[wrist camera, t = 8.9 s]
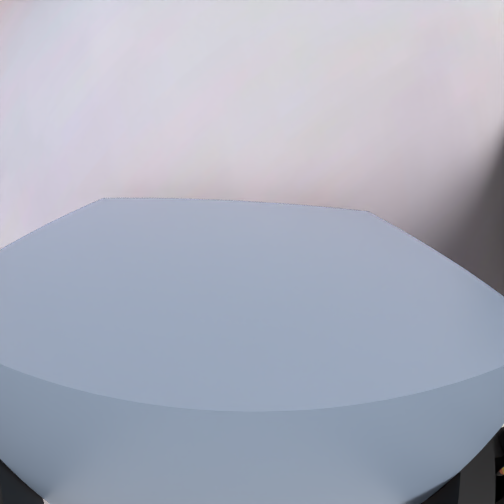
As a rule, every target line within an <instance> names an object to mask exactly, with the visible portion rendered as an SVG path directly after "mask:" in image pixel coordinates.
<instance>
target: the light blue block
mask: <svg viewBox="0 0 504 504" xmlns="http://www.w3.org/2000/svg"><path fill="white" fill-rule="evenodd" d="M503 424H504V296H502V295H501V294H500V293H498V292H497V291H496V290H494V289H493V288H491V287H490V286H489V285H487V284H486V283H484V282H483V281H482V280H480V279H479V278H477V277H476V276H474V275H473V274H471V273H470V272H469V271H467V270H466V269H464V268H463V267H461V266H460V265H458V264H457V263H455V262H453V261H452V260H450V259H449V258H447V257H446V256H444V255H443V254H441V253H439V252H438V251H436V250H435V249H433V248H431V247H430V246H428V245H426V244H425V243H423V242H421V241H420V240H418V239H416V238H415V237H413V236H411V235H410V234H408V233H406V232H404V231H403V230H401V229H399V228H397V227H396V226H394V225H392V224H390V223H389V222H387V221H385V220H383V219H381V218H380V217H378V216H376V215H374V214H372V213H370V212H368V211H361V210H351V209H341V208H331V207H320V206H308V205H296V204H282V203H268V202H251V201H233V200H210V199H179V198H102V199H100V200H98V201H95V202H93V203H91V204H89V205H86V206H84V207H82V208H80V209H78V210H75V211H73V212H71V213H69V214H67V215H65V216H63V217H61V218H59V219H57V220H55V221H52V222H50V223H48V224H46V225H45V226H43V227H41V228H39V229H37V230H35V231H33V232H31V233H29V234H27V235H25V236H24V237H22V238H20V239H18V240H16V241H15V242H13V243H11V244H9V245H7V246H6V247H4V248H2V249H1V250H0V459H1V460H2V461H3V462H4V463H5V464H6V465H7V466H8V467H9V468H10V469H11V470H12V471H13V472H14V473H15V474H16V475H17V476H18V477H19V478H20V479H21V480H22V481H23V482H25V483H26V484H27V485H28V486H29V487H30V488H31V489H33V490H34V491H35V492H36V493H37V494H38V495H40V496H41V497H42V498H43V499H45V500H46V501H47V502H48V503H50V504H421V503H422V502H424V501H425V500H426V499H428V498H429V497H430V496H432V495H433V494H434V493H435V492H437V491H438V490H439V489H440V488H441V487H443V486H444V485H445V484H446V483H447V482H448V481H450V480H451V479H452V478H453V477H454V476H455V475H456V474H457V473H458V472H460V471H461V470H462V469H463V468H464V467H465V466H466V465H467V464H468V463H469V462H470V461H471V460H472V459H473V458H474V457H475V456H476V455H477V454H478V453H479V452H480V451H481V450H482V449H483V447H484V446H485V445H486V444H487V443H488V442H489V441H490V440H491V439H492V437H493V436H494V435H495V434H496V433H497V432H498V430H499V429H500V428H501V427H502V426H503Z"/></svg>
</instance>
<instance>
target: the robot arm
mask: <svg viewBox="0 0 504 504" xmlns="http://www.w3.org/2000/svg"><path fill="white" fill-rule="evenodd" d="M503 467H504V427H501V428H500V429H499V430H498V432H497V433H496V434H495V435H494V436H493V437H492V439H491V440H490V441H489V442H488V443H487V444H486V445H485V446H484V447H483V449H482V450H481V451H480V452H479V453H478V454H477V455H476V456H475V457H474V458H473V459H472V460H471V461H470V462H469V463H468V464H467V465H466V466H465V467H464V468H463V469H462V470H461V471H460V472H458V473H457V474H456V475H455V476H454V477H453V478H452V479H451V480H450V481H448V482H447V483H446V484H445V485H444V486H443V487H441V488H440V489H439V490H438V491H437V492H435V493H434V494H433V495H432V496H430V497H429V498H428V499H426V500H425V501H424V502H422V503H421V504H504V475H502V474H501V473H500V470H501V469H502V468H503ZM0 504H44V502H43V498H42V497H41V496H40V495H38V494H37V493H36V492H35V491H34V490H33V489H31V488H30V487H29V486H28V485H27V484H26V483H25V482H23V481H22V480H21V479H20V478H19V477H18V476H17V475H16V474H15V473H14V472H13V471H12V470H11V469H10V468H9V467H8V466H7V465H6V464H5V463H4V462H3V461H2V460H1V459H0Z"/></svg>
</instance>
